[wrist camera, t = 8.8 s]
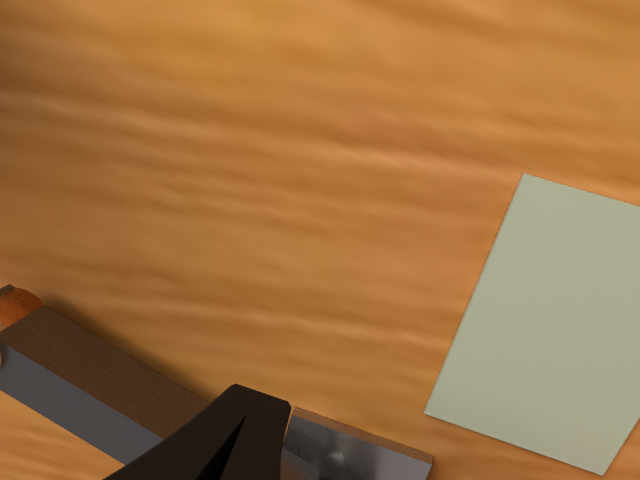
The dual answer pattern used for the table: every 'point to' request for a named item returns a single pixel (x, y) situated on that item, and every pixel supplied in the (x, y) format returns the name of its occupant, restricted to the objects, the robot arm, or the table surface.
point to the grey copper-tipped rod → (96, 385)
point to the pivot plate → (351, 451)
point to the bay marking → (552, 329)
